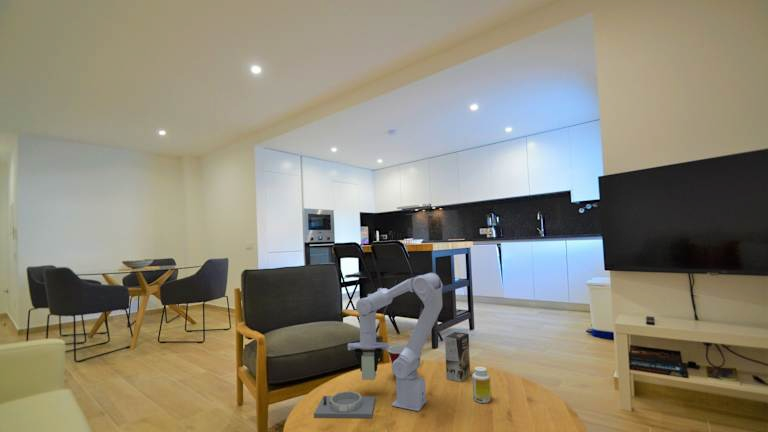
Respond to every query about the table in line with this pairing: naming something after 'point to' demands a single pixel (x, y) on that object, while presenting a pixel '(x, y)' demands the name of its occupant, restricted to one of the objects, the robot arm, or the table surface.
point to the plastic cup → (396, 352)
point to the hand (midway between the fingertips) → (368, 370)
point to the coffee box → (457, 356)
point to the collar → (343, 407)
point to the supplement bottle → (481, 385)
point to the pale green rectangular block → (368, 366)
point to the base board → (361, 412)
